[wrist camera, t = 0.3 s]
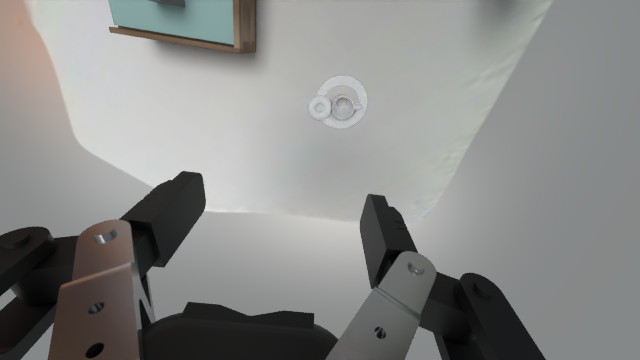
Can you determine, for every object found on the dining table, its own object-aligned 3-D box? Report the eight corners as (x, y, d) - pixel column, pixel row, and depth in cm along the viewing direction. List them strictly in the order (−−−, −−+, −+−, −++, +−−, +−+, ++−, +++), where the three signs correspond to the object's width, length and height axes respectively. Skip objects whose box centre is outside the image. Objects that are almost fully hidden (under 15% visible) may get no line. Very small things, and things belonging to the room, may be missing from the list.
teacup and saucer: (304, 116, 38) (302, 124, 34) (320, 64, 34) (320, 67, 31) (354, 134, 39) (357, 143, 36) (375, 86, 36) (381, 90, 32)
